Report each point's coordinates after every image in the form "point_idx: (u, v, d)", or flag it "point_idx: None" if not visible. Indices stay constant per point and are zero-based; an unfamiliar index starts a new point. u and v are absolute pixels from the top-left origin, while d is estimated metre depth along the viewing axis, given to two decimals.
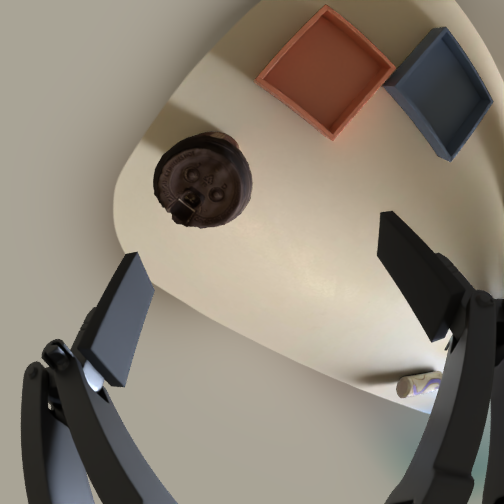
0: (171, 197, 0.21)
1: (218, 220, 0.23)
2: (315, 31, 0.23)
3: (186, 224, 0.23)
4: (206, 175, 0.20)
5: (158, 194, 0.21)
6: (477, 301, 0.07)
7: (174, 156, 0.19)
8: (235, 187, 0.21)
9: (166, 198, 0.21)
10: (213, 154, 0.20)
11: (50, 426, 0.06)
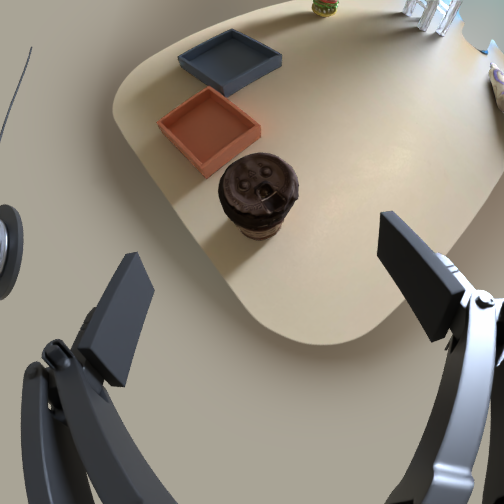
0: (257, 206, 0.25)
1: (288, 175, 0.26)
2: (177, 134, 0.41)
3: (286, 200, 0.25)
4: (247, 175, 0.26)
5: (253, 218, 0.25)
6: (477, 301, 0.07)
7: (224, 193, 0.26)
8: (263, 157, 0.26)
9: (257, 209, 0.25)
10: (233, 166, 0.26)
11: (50, 426, 0.06)
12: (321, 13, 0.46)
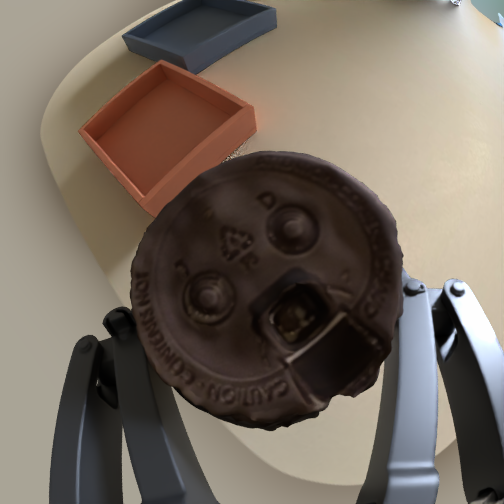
0: (273, 385, 0.06)
1: (382, 235, 0.06)
2: (111, 145, 0.22)
3: (384, 349, 0.06)
4: (220, 249, 0.07)
5: (258, 422, 0.06)
6: (405, 290, 0.08)
7: (139, 334, 0.06)
8: (274, 168, 0.07)
9: (272, 400, 0.06)
10: (164, 217, 0.07)
11: (94, 408, 0.07)
12: None
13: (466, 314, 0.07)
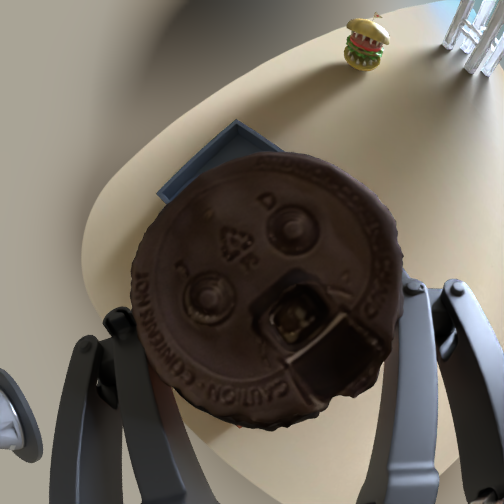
0: (273, 386, 0.06)
1: (382, 236, 0.06)
2: None
3: (384, 349, 0.06)
4: (220, 249, 0.07)
5: (258, 423, 0.06)
6: (405, 290, 0.08)
7: (139, 335, 0.06)
8: (274, 169, 0.07)
9: (273, 401, 0.06)
10: (164, 219, 0.07)
11: (94, 408, 0.07)
12: (360, 66, 0.36)
13: (466, 314, 0.07)
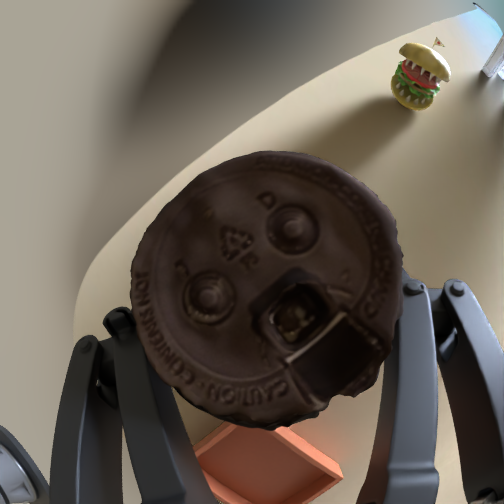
0: (273, 385, 0.06)
1: (382, 235, 0.06)
2: (210, 467, 0.22)
3: (384, 349, 0.06)
4: (220, 248, 0.07)
5: (258, 422, 0.06)
6: (405, 290, 0.08)
7: (139, 334, 0.06)
8: (274, 168, 0.07)
9: (272, 400, 0.05)
10: (164, 218, 0.07)
11: (94, 408, 0.07)
12: (411, 104, 0.28)
13: (466, 314, 0.07)
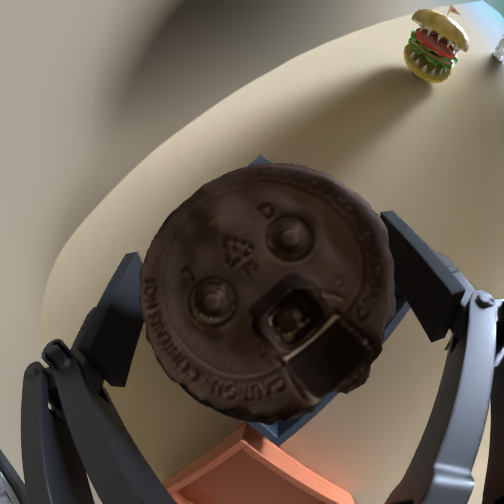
0: (271, 382, 0.06)
1: (373, 243, 0.07)
2: (196, 498, 0.16)
3: (374, 349, 0.06)
4: (223, 256, 0.07)
5: (258, 416, 0.06)
6: (477, 301, 0.07)
7: (148, 335, 0.07)
8: (273, 180, 0.07)
9: (270, 395, 0.06)
10: (170, 227, 0.07)
11: (50, 426, 0.06)
12: (427, 76, 0.22)
13: None
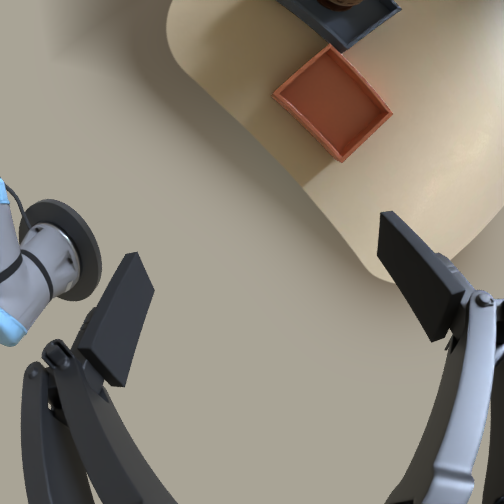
0: None
1: None
2: (294, 103, 0.33)
3: None
4: None
5: None
6: (477, 301, 0.07)
7: None
8: None
9: None
10: None
11: (50, 426, 0.06)
12: None
13: None
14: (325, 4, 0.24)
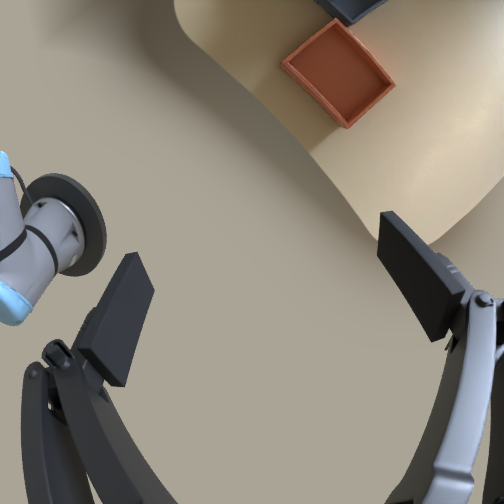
0: None
1: None
2: (302, 72, 0.31)
3: None
4: None
5: None
6: (477, 301, 0.07)
7: None
8: None
9: None
10: None
11: (50, 426, 0.06)
12: None
13: None
14: None
